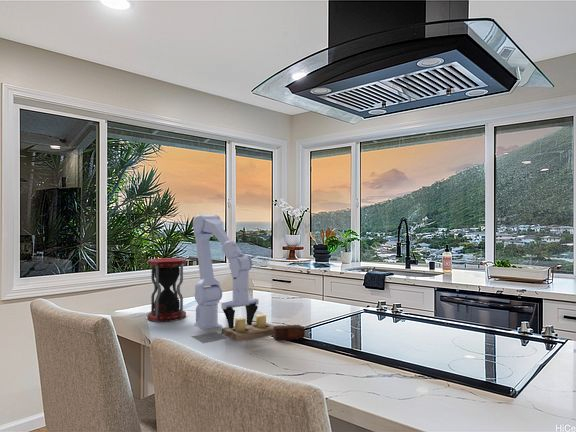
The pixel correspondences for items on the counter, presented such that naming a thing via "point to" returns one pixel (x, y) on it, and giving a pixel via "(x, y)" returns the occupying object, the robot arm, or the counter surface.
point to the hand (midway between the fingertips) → (240, 326)
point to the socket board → (248, 332)
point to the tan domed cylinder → (260, 321)
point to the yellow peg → (240, 325)
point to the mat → (209, 337)
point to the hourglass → (166, 289)
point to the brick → (288, 332)
